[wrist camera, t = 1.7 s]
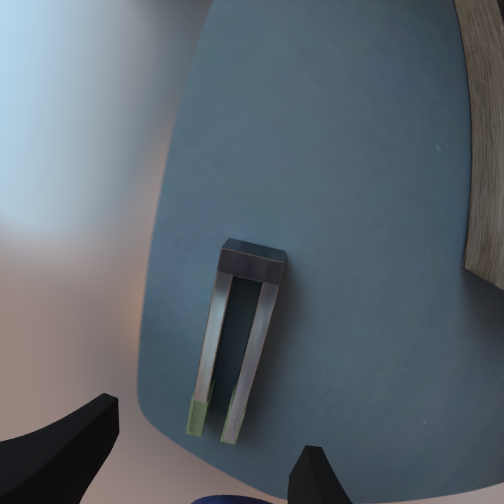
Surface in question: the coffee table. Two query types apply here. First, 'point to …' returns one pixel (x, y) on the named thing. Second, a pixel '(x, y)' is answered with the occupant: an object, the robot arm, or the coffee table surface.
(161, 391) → the coffee table surface
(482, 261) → the book
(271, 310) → the tongs
